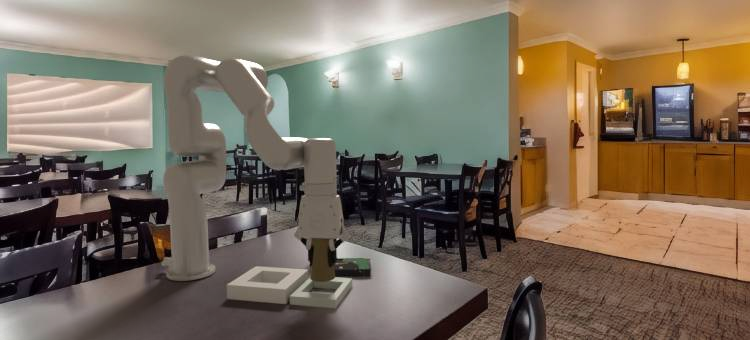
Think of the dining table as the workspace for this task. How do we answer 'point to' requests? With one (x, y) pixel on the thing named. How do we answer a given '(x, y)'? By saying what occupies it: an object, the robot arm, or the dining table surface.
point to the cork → (321, 261)
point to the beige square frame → (267, 284)
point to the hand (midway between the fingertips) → (322, 264)
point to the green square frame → (320, 299)
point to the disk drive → (352, 267)
